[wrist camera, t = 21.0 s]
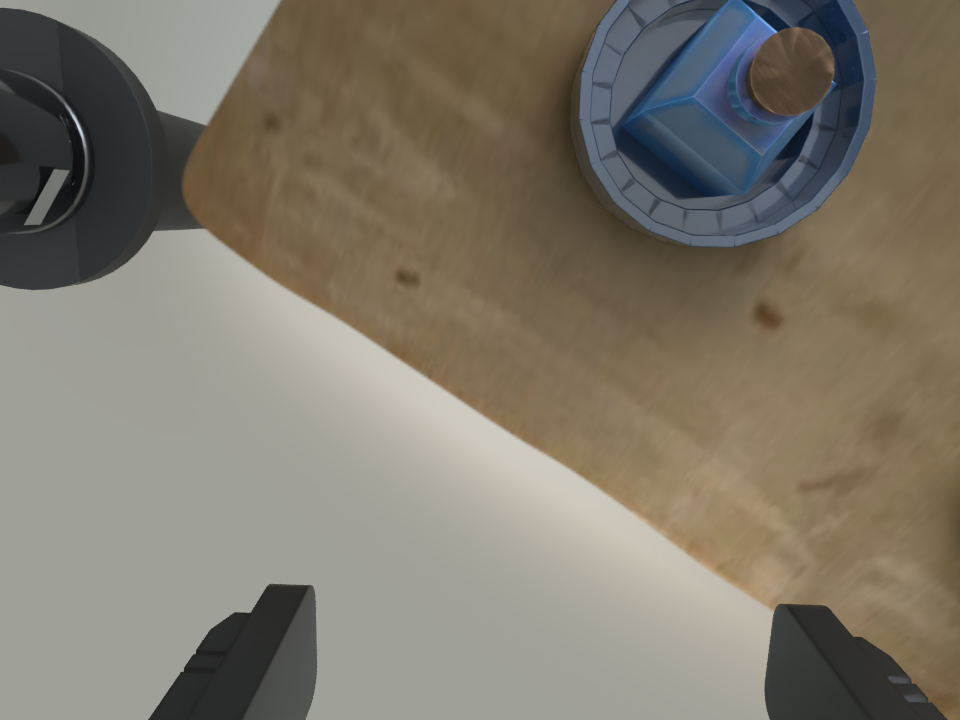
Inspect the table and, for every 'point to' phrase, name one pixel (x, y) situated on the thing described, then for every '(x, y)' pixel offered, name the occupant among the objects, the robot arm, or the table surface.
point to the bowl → (658, 188)
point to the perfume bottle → (733, 99)
